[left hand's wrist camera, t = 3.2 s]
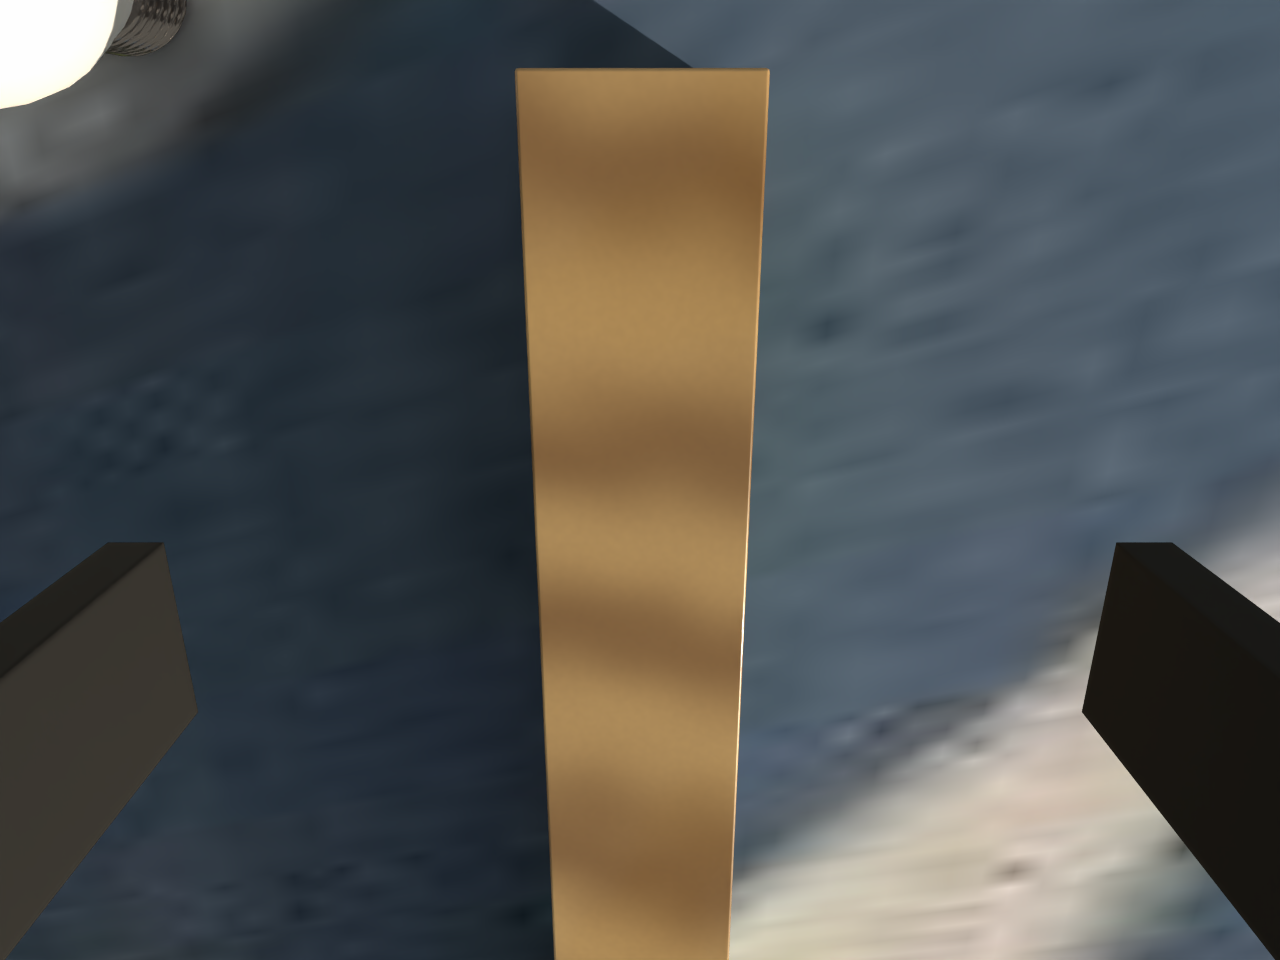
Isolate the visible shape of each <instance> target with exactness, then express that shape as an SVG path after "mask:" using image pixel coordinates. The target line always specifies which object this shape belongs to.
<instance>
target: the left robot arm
mask: <svg viewBox="0 0 1280 960" xmlns="http://www.w3.org/2000/svg"><path fill="white" fill-rule="evenodd" d="M197 713H198V709H197V704H196V699H195V695H194V690H193V685H192V680H191V675H190V670H189V665H188V660H187V655H186V650H185V645H184V640H183V636H182V631H181V626H180V621H179V616H178V611H177V606H176V601H175V596H174V591H173V586H172V581H171V576H170V572H169V567H168V562H167V557H166V552H165V547H164V543H107V544H105V545H104V546H103V547H101V548H100V549H99V550H97V551H96V552H95V553H93V554H92V555H91V556H89V557H88V558H87V559H85V560H84V561H83V562H81V563H80V564H79V565H77V566H76V567H75V568H73V569H72V570H71V571H69V572H68V573H67V574H65V575H64V576H62V577H61V578H60V579H58V580H57V581H56V582H54V583H53V584H52V585H50V586H49V587H48V588H46V589H45V590H44V591H42V592H41V593H40V594H38V595H37V596H36V597H34V598H33V599H32V600H30V601H29V602H28V603H26V604H25V605H24V606H22V607H21V608H20V609H18V610H17V611H16V612H14V613H13V614H12V615H10V616H9V617H8V618H6V619H5V620H4V621H2V622H1V623H0V960H5V959H6V958H7V956H8V955H9V954H10V952H11V951H12V950H13V949H14V947H15V946H16V945H17V943H18V942H19V941H20V940H21V938H22V937H23V936H24V934H25V933H26V932H27V931H28V929H29V928H30V927H31V925H32V924H33V923H34V922H35V920H36V919H37V918H38V917H39V915H40V914H41V913H42V911H43V910H44V909H45V908H46V906H47V905H48V904H49V902H50V901H51V900H52V899H53V897H54V896H55V895H56V893H57V892H58V891H59V890H60V888H61V887H62V886H63V884H64V883H65V882H66V881H67V879H68V878H69V877H70V875H71V874H72V873H73V872H74V870H75V869H76V868H77V867H78V865H79V864H80V863H81V861H82V860H83V859H84V858H85V856H86V855H87V854H88V852H89V851H90V850H91V849H92V847H93V846H94V845H95V843H96V842H97V841H98V840H99V838H100V837H101V836H102V834H103V833H104V832H105V831H106V829H107V828H108V827H109V825H110V824H111V823H112V822H113V820H114V819H115V818H116V817H117V815H118V814H119V813H120V811H121V810H122V809H123V808H124V806H125V805H126V804H127V802H128V801H129V800H130V799H131V797H132V796H133V795H134V793H135V792H136V791H137V790H138V788H139V787H140V786H141V784H142V783H143V782H144V781H145V779H146V778H147V777H148V775H149V774H150V773H151V772H152V770H153V769H154V768H155V767H156V765H157V764H158V763H159V761H160V760H161V759H162V758H163V756H164V755H165V754H166V752H167V751H168V750H169V749H170V747H171V746H172V745H173V743H174V742H175V741H176V740H177V738H178V737H179V736H180V734H181V733H182V732H183V731H184V729H185V728H186V727H187V725H188V724H189V723H190V722H191V720H192V719H193V718H194V717H195V715H196V714H197ZM1082 713H1083V714H1084V715H1085V717H1086V718H1087V719H1088V720H1089V722H1090V723H1091V724H1092V725H1093V727H1094V728H1095V729H1096V731H1097V732H1098V733H1099V734H1100V736H1101V737H1102V738H1103V740H1104V741H1105V742H1106V743H1107V745H1108V746H1109V747H1110V749H1111V750H1112V751H1113V752H1114V754H1115V755H1116V756H1117V758H1118V759H1119V760H1120V761H1121V763H1122V764H1123V765H1124V767H1125V768H1126V769H1127V770H1128V772H1129V773H1130V774H1131V775H1132V777H1133V778H1134V779H1135V781H1136V782H1137V783H1138V784H1139V786H1140V787H1141V788H1142V790H1143V791H1144V792H1145V793H1146V795H1147V796H1148V797H1149V799H1150V800H1151V801H1152V802H1153V804H1154V805H1155V806H1156V808H1157V809H1158V810H1159V811H1160V813H1161V814H1162V815H1163V817H1164V818H1165V819H1166V820H1167V822H1168V823H1169V824H1170V825H1171V827H1172V828H1173V829H1174V831H1175V832H1176V833H1177V834H1178V836H1179V837H1180V838H1181V840H1182V841H1183V842H1184V843H1185V845H1186V846H1187V847H1188V849H1189V850H1190V851H1191V852H1192V854H1193V855H1194V856H1195V858H1196V859H1197V860H1198V861H1199V863H1200V864H1201V865H1202V867H1203V868H1204V869H1205V870H1206V872H1207V873H1208V874H1209V875H1210V877H1211V878H1212V879H1213V881H1214V882H1215V883H1216V884H1217V886H1218V887H1219V888H1220V890H1221V891H1222V892H1223V893H1224V895H1225V896H1226V897H1227V899H1228V900H1229V901H1230V902H1231V904H1232V905H1233V906H1234V908H1235V909H1236V910H1237V911H1238V913H1239V914H1240V915H1241V917H1242V918H1243V919H1244V920H1245V922H1246V923H1247V924H1248V925H1249V927H1250V928H1251V929H1252V931H1253V932H1254V933H1255V934H1256V936H1257V937H1258V938H1259V940H1260V941H1261V942H1262V943H1263V945H1264V946H1265V947H1266V949H1267V950H1268V951H1269V952H1270V954H1271V955H1272V956H1273V958H1274V959H1275V960H1280V623H1279V622H1278V621H1276V620H1275V619H1274V618H1272V617H1271V616H1270V615H1268V614H1267V613H1266V612H1264V611H1263V610H1262V609H1260V608H1259V607H1258V606H1256V605H1255V604H1254V603H1252V602H1251V601H1250V600H1248V599H1247V598H1246V597H1244V596H1243V595H1242V594H1240V593H1239V592H1238V591H1236V590H1235V589H1234V588H1232V587H1231V586H1230V585H1228V584H1227V583H1226V582H1224V581H1223V580H1222V579H1220V578H1219V577H1218V576H1216V575H1215V574H1213V573H1212V572H1211V571H1209V570H1208V569H1207V568H1205V567H1204V566H1203V565H1201V564H1200V563H1199V562H1197V561H1196V560H1195V559H1193V558H1192V557H1191V556H1189V555H1188V554H1187V553H1185V552H1184V551H1183V550H1181V549H1180V548H1179V547H1177V546H1176V545H1175V544H1173V543H1116V547H1115V552H1114V557H1113V562H1112V567H1111V572H1110V576H1109V581H1108V586H1107V591H1106V596H1105V601H1104V606H1103V611H1102V616H1101V621H1100V626H1099V631H1098V636H1097V640H1096V645H1095V650H1094V655H1093V660H1092V665H1091V670H1090V675H1089V680H1088V685H1087V690H1086V695H1085V699H1084V704H1083V709H1082Z"/></svg>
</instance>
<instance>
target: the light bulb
mask: <svg viewBox="0 0 1280 960" xmlns="http://www.w3.org/2000/svg"><path fill="white" fill-rule="evenodd" d="M186 1H187V0H0V109H2V108H8V107H14V106H19V105H25V104H29V103H32V102H34V101H37V100H39V99H42V98H44V97H47V96H49V95H52V94H54V93H56V92H59V91H61V90H63V89H66V88H68V87H70V86H71V85H72V84H74V83H75V82H76V81H78V80H79V79H80V78H81V77H83V76H84V75H85V74H87V73H88V72H89V71H90V70H91V69H92V68H93V67H94V65H95V64H96V63H97V62H98V61H99V60H100V58H101V57H102V56H103V55H104V53H108V54H114V55H120V56H139V55H144V54H147V53H151V52H154V51H156V50H158V49H159V48H161V47H163V46H164V45H166V44H167V43H168V42H169V41H170V40H171V39H172V38H173V37H174V35H175V34H176V33H177V32H178V30H179V28H180V26H181V24H182V21H183V18H184V15H185V11H186Z"/></svg>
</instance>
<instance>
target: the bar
mask: <svg viewBox="0 0 1280 960" xmlns="http://www.w3.org/2000/svg"><path fill="white" fill-rule="evenodd" d="M769 77H770V71H769V69H767V68H517V69H516V70H515V90H516V112H517V134H518V157H519V179H520V202H521V224H522V247H523V269H524V292H525V314H526V336H527V359H528V381H529V404H530V426H531V449H532V471H533V494H534V516H535V539H536V561H537V583H538V606H539V628H540V651H541V673H542V696H543V718H544V741H545V763H546V785H547V808H548V830H549V853H550V875H551V898H552V920H553V943H554V960H729V943H730V921H731V899H732V878H733V856H734V834H735V813H736V791H737V769H738V748H739V726H740V704H741V683H742V661H743V639H744V618H745V596H746V575H747V553H748V531H749V510H750V488H751V466H752V445H753V423H754V401H755V380H756V358H757V336H758V315H759V293H760V271H761V250H762V228H763V206H764V185H765V163H766V142H767V120H768V98H769Z"/></svg>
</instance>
